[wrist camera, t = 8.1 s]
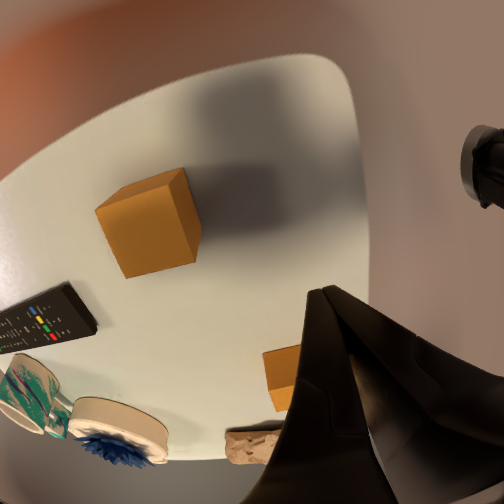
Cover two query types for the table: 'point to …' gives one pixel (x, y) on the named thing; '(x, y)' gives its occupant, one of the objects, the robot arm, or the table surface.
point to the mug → (32, 398)
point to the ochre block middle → (281, 375)
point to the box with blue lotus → (118, 432)
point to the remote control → (45, 321)
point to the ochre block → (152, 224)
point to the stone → (250, 446)
